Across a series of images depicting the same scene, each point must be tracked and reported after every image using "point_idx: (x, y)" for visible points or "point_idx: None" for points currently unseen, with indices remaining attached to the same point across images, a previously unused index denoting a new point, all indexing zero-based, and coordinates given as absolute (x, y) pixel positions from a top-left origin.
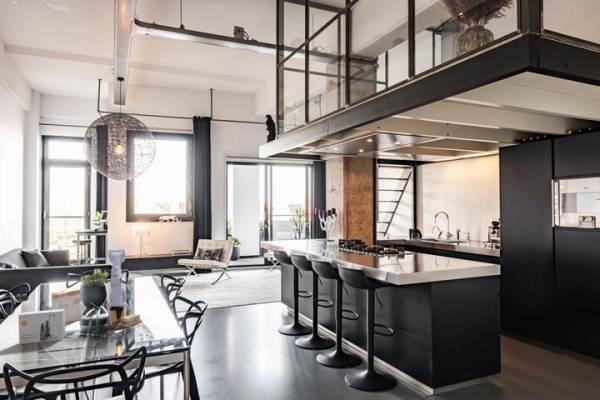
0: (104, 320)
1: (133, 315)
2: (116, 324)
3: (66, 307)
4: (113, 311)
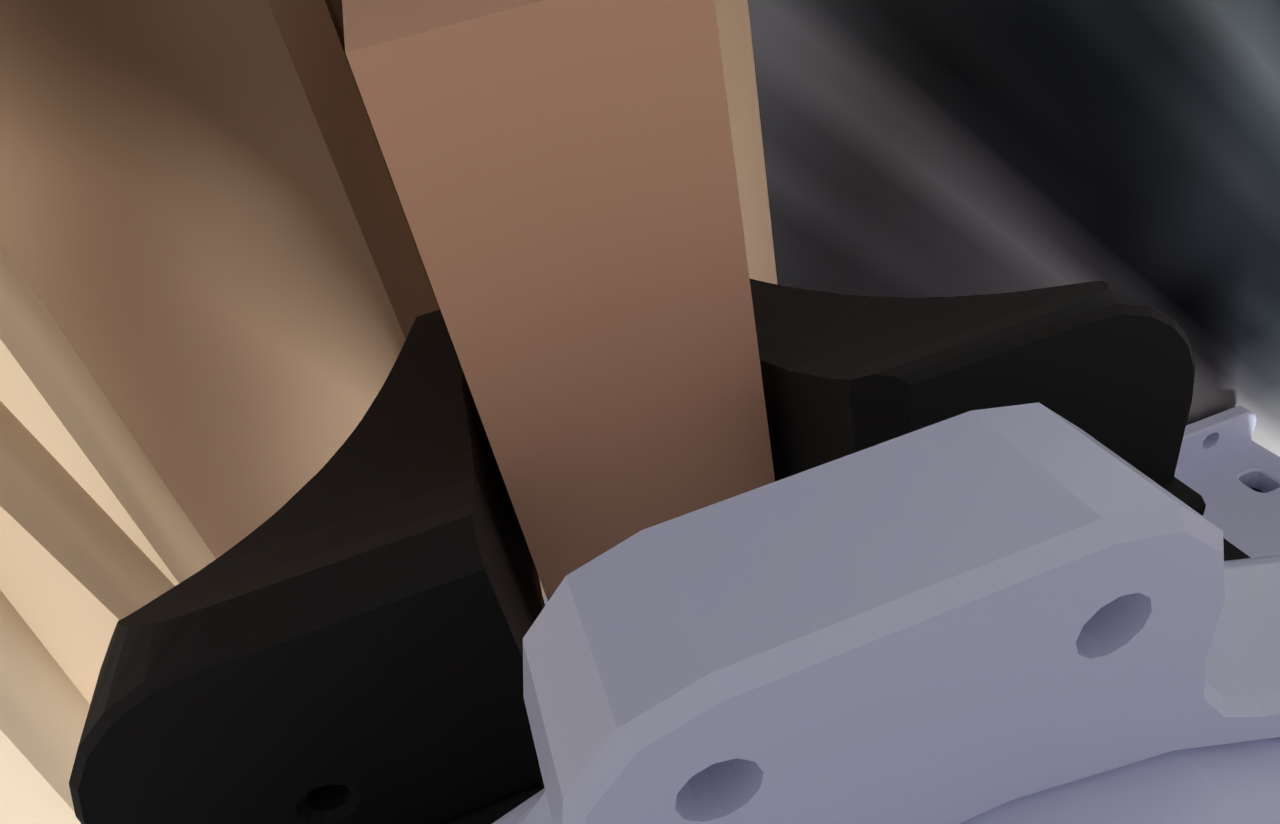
0: (1196, 273)
1: None
2: (303, 137)
3: None
4: (432, 269)
